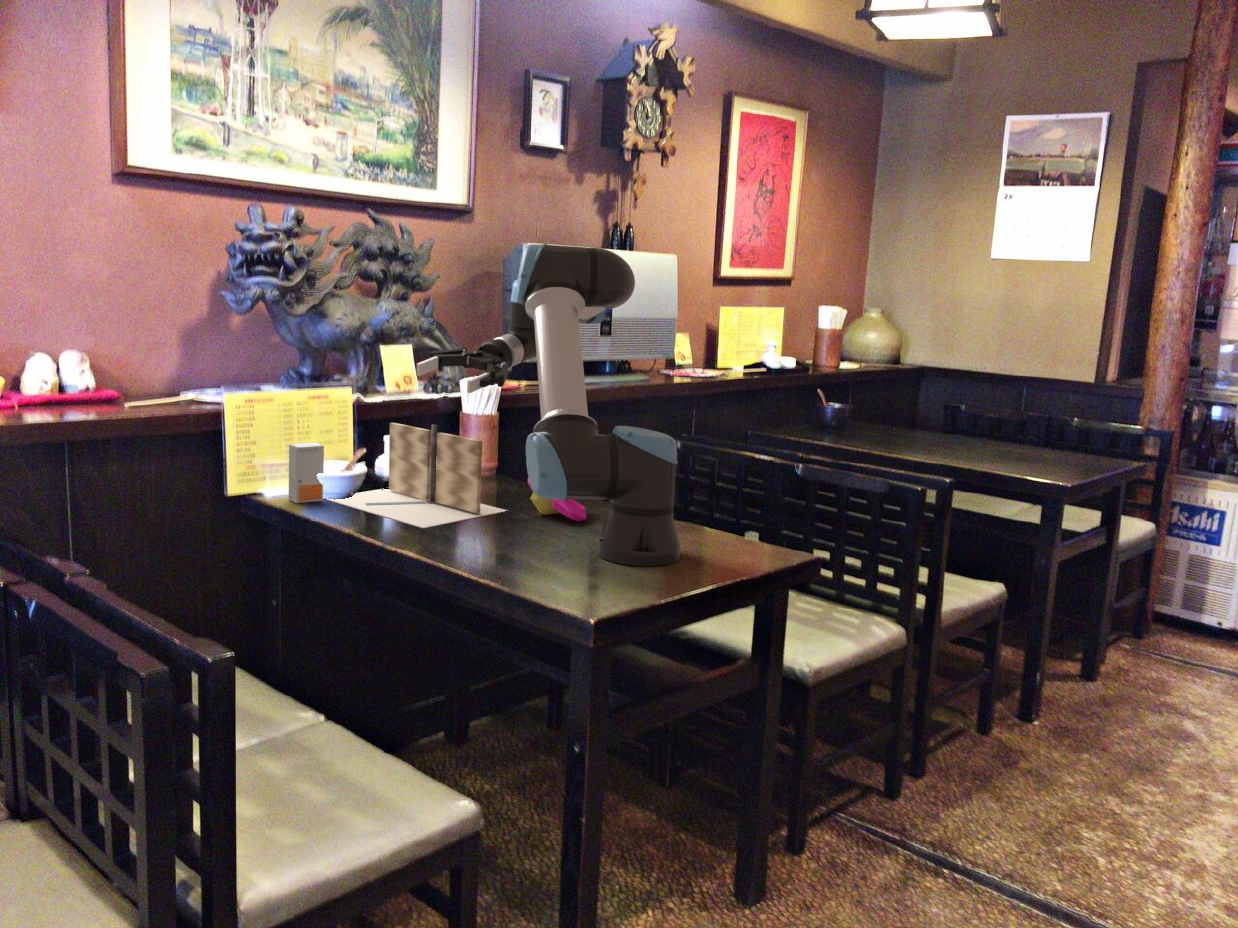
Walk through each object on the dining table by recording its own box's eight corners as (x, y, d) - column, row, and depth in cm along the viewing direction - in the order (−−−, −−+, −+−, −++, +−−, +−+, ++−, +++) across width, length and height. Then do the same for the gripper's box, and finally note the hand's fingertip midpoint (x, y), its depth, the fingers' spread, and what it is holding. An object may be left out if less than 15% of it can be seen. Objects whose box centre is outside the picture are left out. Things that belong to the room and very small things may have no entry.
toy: (548, 530, 201) (576, 487, 200) (504, 488, 213) (529, 447, 212) (581, 542, 208) (607, 501, 207) (536, 501, 221) (561, 461, 220)
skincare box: (296, 504, 207) (296, 447, 205) (288, 500, 210) (288, 443, 208) (324, 501, 211) (324, 445, 209) (315, 497, 214) (316, 442, 212)
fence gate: (429, 499, 216) (431, 430, 213) (426, 499, 215) (427, 430, 212) (392, 489, 223) (393, 422, 221) (388, 489, 223) (389, 423, 220)
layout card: (507, 511, 211) (507, 509, 211) (423, 528, 194) (423, 527, 193) (408, 485, 231) (408, 484, 231) (323, 499, 213) (323, 497, 213)
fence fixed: (482, 514, 207) (485, 433, 204) (473, 516, 205) (476, 434, 202) (433, 501, 216) (435, 423, 213) (423, 503, 214) (425, 424, 211)
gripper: (544, 383, 228) (489, 410, 211) (456, 355, 238) (397, 379, 221) (546, 352, 225) (491, 377, 208) (457, 325, 235) (397, 346, 218)
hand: (442, 378), depth 214 cm, fingers open, 13 cm apart
